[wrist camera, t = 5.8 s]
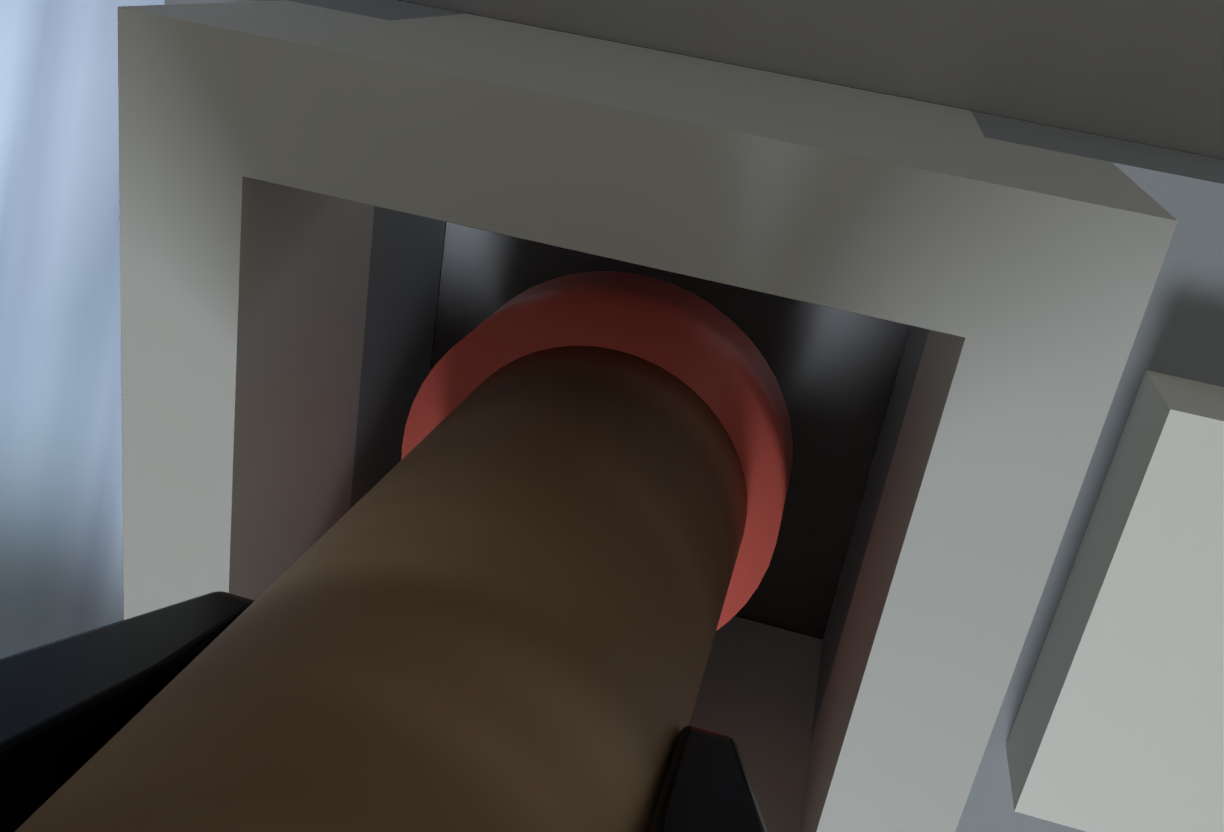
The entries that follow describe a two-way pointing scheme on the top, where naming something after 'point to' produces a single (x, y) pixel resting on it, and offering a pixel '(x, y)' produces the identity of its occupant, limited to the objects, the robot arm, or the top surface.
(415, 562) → the dowel
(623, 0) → the top surface
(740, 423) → the red dome cap
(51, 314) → the top surface
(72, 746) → the robot arm
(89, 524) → the top surface
